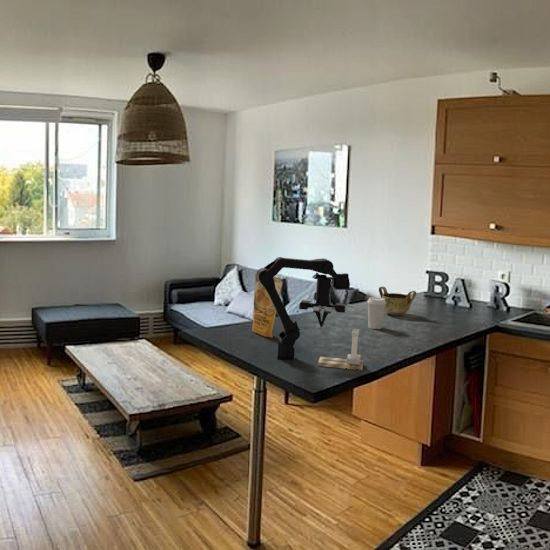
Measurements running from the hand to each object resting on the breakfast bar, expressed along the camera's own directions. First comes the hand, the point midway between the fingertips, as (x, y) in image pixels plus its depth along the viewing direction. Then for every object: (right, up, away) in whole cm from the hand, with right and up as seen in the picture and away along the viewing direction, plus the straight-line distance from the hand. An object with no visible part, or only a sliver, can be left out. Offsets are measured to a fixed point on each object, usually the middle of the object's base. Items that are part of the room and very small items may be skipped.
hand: (321, 326), depth 253 cm
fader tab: (+12, -13, -9) cm, 20 cm away
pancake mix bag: (-25, -7, +37) cm, 45 cm away
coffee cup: (+32, -6, +60) cm, 68 cm away
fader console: (+7, -15, -8) cm, 18 cm away
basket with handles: (+49, -1, +94) cm, 106 cm away
